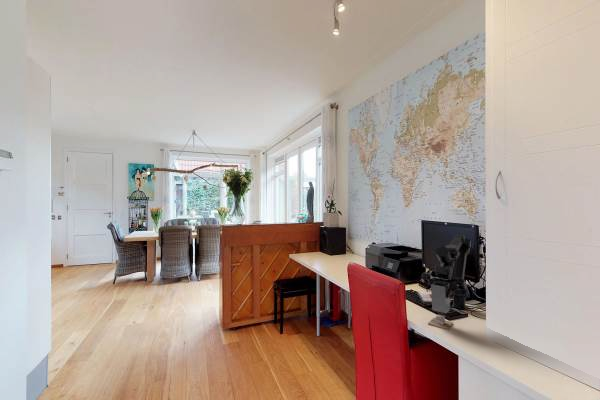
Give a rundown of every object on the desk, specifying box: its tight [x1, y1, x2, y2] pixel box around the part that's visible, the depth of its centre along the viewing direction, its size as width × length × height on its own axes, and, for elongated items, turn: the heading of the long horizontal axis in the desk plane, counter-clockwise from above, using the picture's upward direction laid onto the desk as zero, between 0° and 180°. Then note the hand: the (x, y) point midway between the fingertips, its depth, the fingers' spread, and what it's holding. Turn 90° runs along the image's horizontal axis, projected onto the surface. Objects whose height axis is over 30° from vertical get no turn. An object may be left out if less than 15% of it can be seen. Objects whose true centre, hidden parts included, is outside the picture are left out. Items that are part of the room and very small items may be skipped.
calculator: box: [417, 291, 432, 304], centre depth 152 cm, size 11×4×15 cm
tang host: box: [427, 314, 454, 331], centre depth 124 cm, size 8×8×4 cm
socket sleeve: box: [430, 281, 451, 314], centre depth 124 cm, size 6×6×12 cm
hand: (439, 296), depth 123 cm, fingers closed on socket sleeve, 6 cm apart
